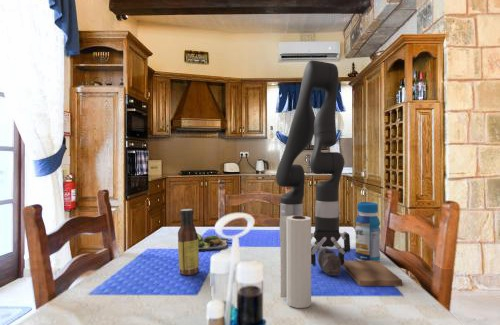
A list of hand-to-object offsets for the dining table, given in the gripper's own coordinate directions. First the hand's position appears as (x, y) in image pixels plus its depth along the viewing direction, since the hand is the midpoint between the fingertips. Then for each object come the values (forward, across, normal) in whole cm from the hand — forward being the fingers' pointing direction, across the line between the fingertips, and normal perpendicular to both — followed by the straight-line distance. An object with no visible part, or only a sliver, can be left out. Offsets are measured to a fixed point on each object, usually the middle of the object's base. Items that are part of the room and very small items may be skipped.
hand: (326, 265), depth 100 cm
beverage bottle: (+2, -17, -10) cm, 20 cm away
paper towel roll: (+2, +13, +22) cm, 26 cm away
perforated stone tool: (+2, 0, 0) cm, 2 cm away
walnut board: (+2, -12, +4) cm, 13 cm away
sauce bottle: (+2, +44, +1) cm, 44 cm away
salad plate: (+2, +43, -30) cm, 52 cm away
